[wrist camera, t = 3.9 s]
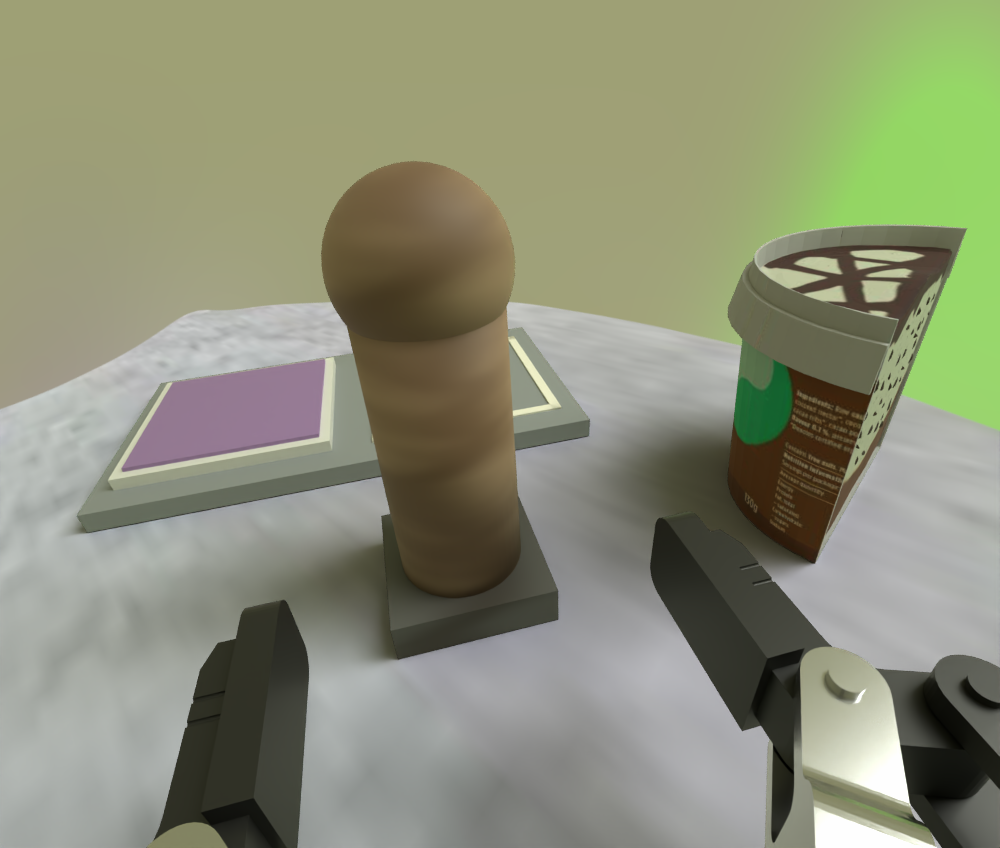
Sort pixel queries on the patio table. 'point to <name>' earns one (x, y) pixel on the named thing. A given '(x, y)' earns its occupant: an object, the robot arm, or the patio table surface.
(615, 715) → the patio table surface
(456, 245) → the stamp
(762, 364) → the food container
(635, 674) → the patio table surface
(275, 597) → the patio table surface
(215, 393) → the stamping board
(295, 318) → the patio table surface
